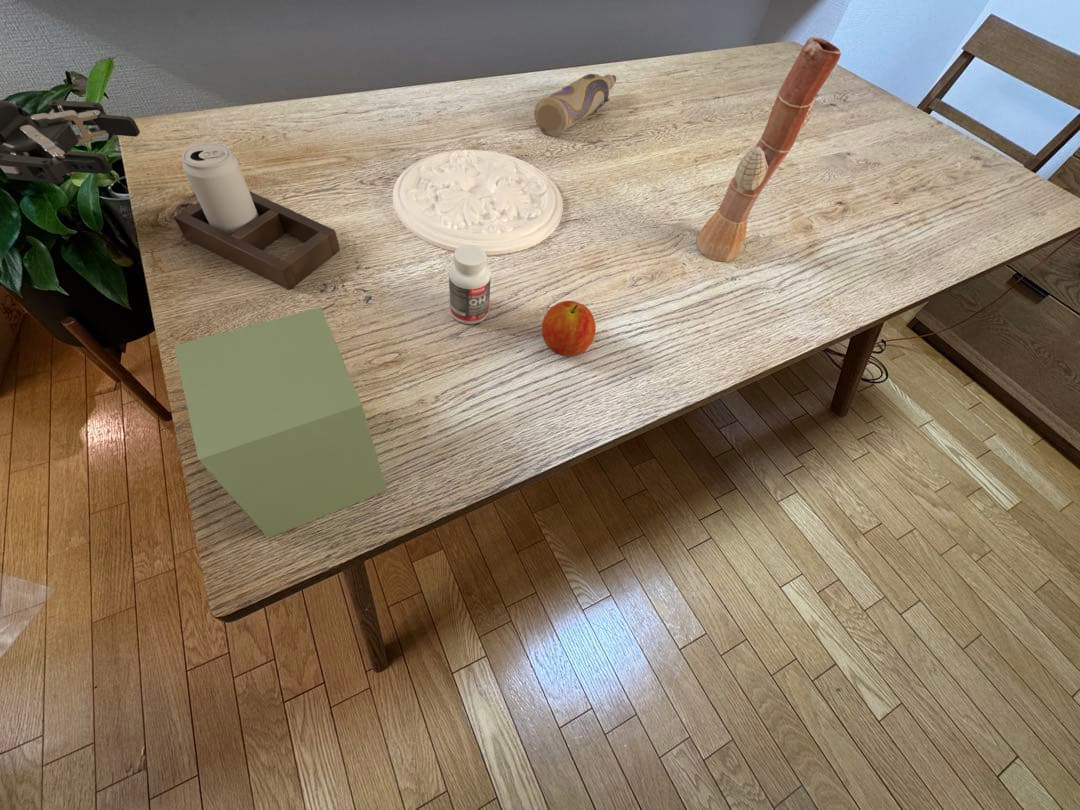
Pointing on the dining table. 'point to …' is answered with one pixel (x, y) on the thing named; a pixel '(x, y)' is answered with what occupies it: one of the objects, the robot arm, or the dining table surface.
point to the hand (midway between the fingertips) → (122, 144)
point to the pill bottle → (469, 285)
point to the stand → (279, 420)
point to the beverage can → (219, 186)
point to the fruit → (568, 328)
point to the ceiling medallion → (477, 201)
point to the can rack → (265, 241)
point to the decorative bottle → (572, 103)
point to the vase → (768, 150)
